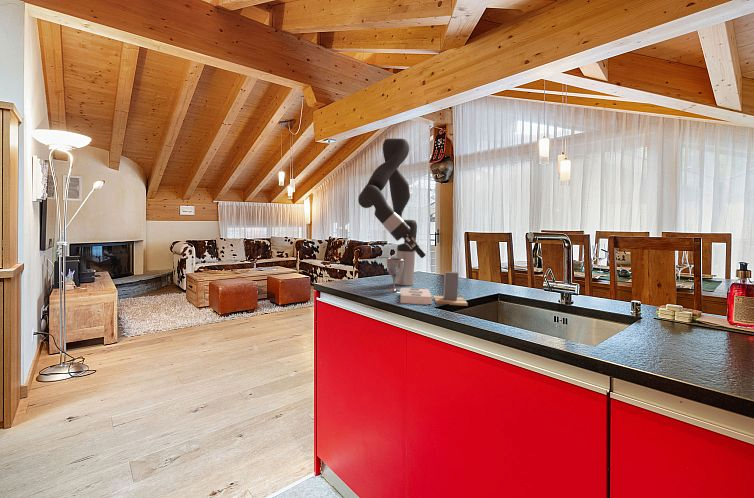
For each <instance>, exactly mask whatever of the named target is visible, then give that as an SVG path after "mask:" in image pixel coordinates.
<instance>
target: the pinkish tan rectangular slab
mask: <svg viewBox="0 0 754 498" xmlns="http://www.w3.org/2000/svg"><path fill="white" fill-rule="evenodd" d="M400 291H401V293H400V304H409V305H410V304H415V305H428V304H431V305H432V303H433V296H432V294H431V291H430V290H429V289H427V288H413V287H412V288H411V287H400ZM431 305H430V306H431Z"/></svg>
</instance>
